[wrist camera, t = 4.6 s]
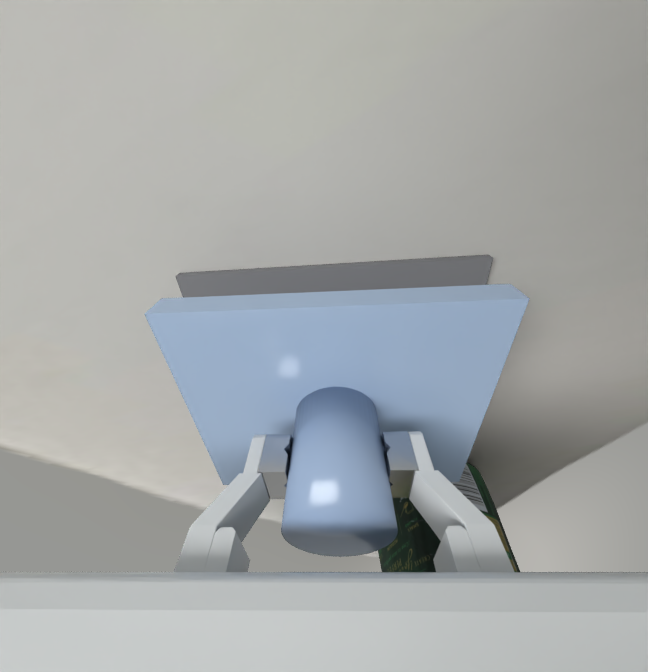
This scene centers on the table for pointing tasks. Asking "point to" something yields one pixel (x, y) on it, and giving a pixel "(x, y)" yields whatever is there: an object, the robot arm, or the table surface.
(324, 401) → the lid
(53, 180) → the table surface
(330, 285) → the mat
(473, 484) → the coffee jar
